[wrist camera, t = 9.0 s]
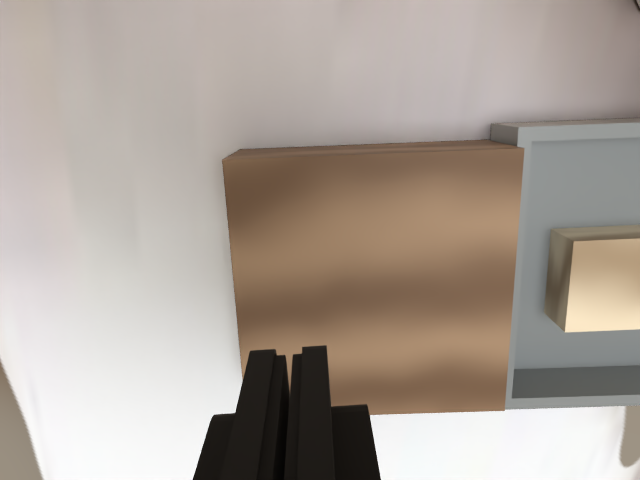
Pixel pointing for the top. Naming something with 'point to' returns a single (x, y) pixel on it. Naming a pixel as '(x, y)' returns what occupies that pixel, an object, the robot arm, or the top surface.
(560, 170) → the bin
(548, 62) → the top surface
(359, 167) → the walnut riser
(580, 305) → the birch tile
